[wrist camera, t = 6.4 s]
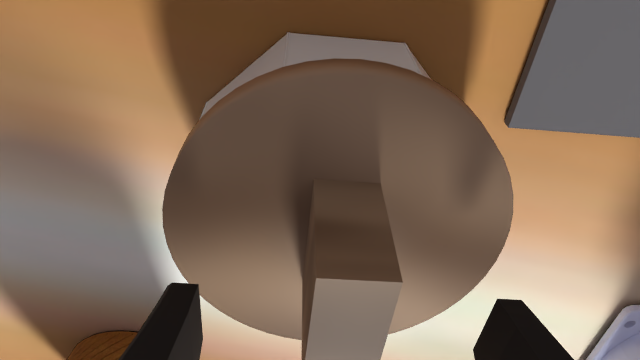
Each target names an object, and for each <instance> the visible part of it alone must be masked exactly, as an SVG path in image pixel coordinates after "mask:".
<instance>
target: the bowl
mask: <svg viewBox="0 0 640 360" xmlns="http://www.w3.org/2000/svg"><path fill="white" fill-rule="evenodd" d="M333 58H338V59H364V60H370V61H377V62H384V63H388V64H392V65H395V66H399V67H402V68H405V69H409V70H412V71H414V72H416V73H418V74H421V75H423V76H425V77H427V78H430V77H429V76H428V74H427V73H426V71H425V70H424V69H423V67H422V66H421V65H420V63H419V62H418V60H417V59H416V58H415V56H414V55H413V54H412V52H411V51H410V49H409V48H408V46H407V44H406V43H398V42H387V41H375V40H364V39H353V38H342V37H331V36H320V35H309V34H297V33H290V32H288V33H287V34H286V35H285V36H284V37H283V38H281V39H280V40H279V41H278V42H277V43H276V44H274V45H273V46H272V47H271V48H270V49H269V50H267V51H266V52H265V53H264V54H263V55H262V56H260V57H259V58H258V59H257V60H256V61H255V62H253V63H252V64H251V65H250V66H249V67H248V68H246V69H245V70H244V71H243V72H242V73H241V74H239V75H238V76H237V77H236V78H235V79H234V80H232V81H231V82H230V83H229V84H228V85H227V86H225V87H224V88H223V89H222V90H221V91H219V92H218V93H217V94H216V95H215V96H214V97H212V98H211V99H210V100H209V101H208V102H206V104H205V107H204V109H203V112H202V114H201V117H202V116H203V115H204V114H205V113H206V112H207V111H208V110H209V109H210V108H211V107H212V106H213V105H215V104H216V103H217V102H218V101H219V100H220V99H222V98H223V97H225V96H226V95H227V94H229V93H230V92H231V91H233V90H234V89H235V88H237V87H239V86H241V85H243V84H244V83H246V82H248V81H250V80H252V79H254V78H256V77H258V76H260V75H263V74H265V73H268V72H271V71H273V70H276V69H279V68H281V67H285V66H289V65H293V64H298V63H302V62H306V61H314V60H324V59H333ZM430 79H431V78H430ZM201 117H200V119H201ZM200 119H199V120H200Z"/></svg>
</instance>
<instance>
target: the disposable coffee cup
mask: <svg viewBox="0 0 640 360" xmlns="http://www.w3.org/2000/svg"><path fill="white" fill-rule="evenodd" d="M136 335H137V333H136V332H125V331H115V332H105V333H100V334H96V335H93V336H91V337H88V338H86V339H84V340H82V341H81V342H80V343H78V344H77V345H76V347H75V348H74V349H73V351H72V353H71V354H70V356H69V357H68V359H67V360H119V358H120V357H121V355H122V354H123V353H124V351H125V350H126V349H127V347H128V346H129V344H130V343H131V342H132V340H133V339H134V338H135V336H136Z"/></svg>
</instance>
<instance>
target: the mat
mask: <svg viewBox="0 0 640 360" xmlns="http://www.w3.org/2000/svg"><path fill="white" fill-rule="evenodd" d="M505 124H506V125H507V126H508V128H521V129H534V130H547V131H560V132H573V133H586V134H599V135H612V136H625V137H638V138H640V0H549V2H548V5H547V8H546V10H545V13H544V16H543V19H542V21H541V24H540V27H539V29H538V32H537V35H536V38H535V40H534V43H533V46H532V48H531V51H530V54H529V56H528V59H527V62H526V65H525V67H524V70H523V73H522V75H521V78H520V81H519V84H518V86H517V89H516V92H515V94H514V97H513V100H512V103H511V105H510V108H509V111H508V113H507V116H506V119H505Z"/></svg>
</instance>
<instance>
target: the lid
mask: <svg viewBox="0 0 640 360" xmlns="http://www.w3.org/2000/svg"><path fill="white" fill-rule="evenodd" d="M512 215H513V190H512V184H511V178H510V174H509V172H508V169H507V166H506V163H505V161H504V158H503V156H502V155H501V153H500V151H499V149H498V148H497V146H496V144H495V143H494V141H493V139H492V138H491V136H490V135H489V133H488V132H487V130H486V128H485V127H484V125H483V124H482V122H481V121H480V120H479V119H478V117H477V116H476V115H475V114H474V113H473V111H472V110H471V109H470V108H469V107H468V106H467V105H466V104H465V103H464V102H463V101H462V100H460V99H459V98H458V97H457V96H456V95H455V94H454V93H452V92H451V91H449V90H448V89H446V88H445V87H443V86H442V85H440V84H438V83H437V82H435V81H434V80H432V79H430V78H427V77H425V76H423V75H421V74H418V73H416V72H414V71H412V70H409V69H405V68H402V67H399V66H395V65H392V64H388V63H384V62H377V61H370V60H364V59H338V58H333V59H324V60H314V61H306V62H302V63H298V64H293V65H289V66H285V67H281V68H279V69H276V70H273V71H271V72H268V73H265V74H263V75H260V76H258V77H256V78H254V79H252V80H250V81H248V82H246V83H244V84H243V85H241V86H239V87H237V88H235V89H234V90H233V91H231V92H230V93H229V94H227V95H226V96H225V97H223V98H222V99H220V100H219V101H218V102H217V103H216V104H215V105H213V106H212V107H211V108H210V109H209V110H208V111H207V112H206V113H205V114H204V115H203V116H202V117H201V119H200V120H199V121H198V123H197V124H196V125H195V127H194V128H193V129H192V131H191V132H190V133H189V135H188V137H187V139H186V140H185V142H184V144H183V146H182V148H181V150H180V152H179V154H178V157H177V159H176V162H175V164H174V166H173V169H172V171H171V174H170V177H169V180H168V183H167V186H166V189H165V195H164V202H163V228H164V233H165V237H166V242H167V245H168V248H169V250H170V253H171V255H172V258H173V260H174V262H175V264H176V265H177V267H178V269H179V270H180V272H181V274H182V275H183V277H184V278H185V279H186V280H187V282H188V283H189V284H199V295H201V296H202V297H203V298H204V299H205V300H206V301H207V302H209V303H210V304H211V305H213V306H214V307H215V308H217V309H218V310H219V311H221V312H223V313H224V314H226V315H228V316H229V317H231V318H233V319H234V320H237V321H239V322H241V323H243V324H245V325H247V326H250V327H252V328H255V329H258V330H261V331H264V332H266V333H270V334H274V335H278V336H282V337H286V338H292V339H298V340H302V360H380V359H381V356H382V352H383V349H384V345H385V342H386V339H387V335H388V334H391V333H395V332H398V331H401V330H404V329H407V328H410V327H413V326H415V325H417V324H420V323H422V322H424V321H426V320H429V319H430V318H432V317H434V316H436V315H438V314H440V313H441V312H443V311H445V310H446V309H448V308H449V307H451V306H452V305H454V304H455V303H457V302H458V301H459V300H461V299H462V298H463V297H464V296H465V295H467V294H468V293H469V292H470V291H471V290H472V289H473V288H474V287H475V286H476V285H477V284H478V283H479V282H480V281H481V280H482V279H483V278H484V277H485V276H486V274H487V273H488V271H489V270H490V269H491V267H492V266H493V265H494V263H495V262H496V260H497V258H498V256H499V254H500V253H501V251H502V249H503V247H504V245H505V242H506V239H507V236H508V233H509V231H510V226H511V221H512Z"/></svg>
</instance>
